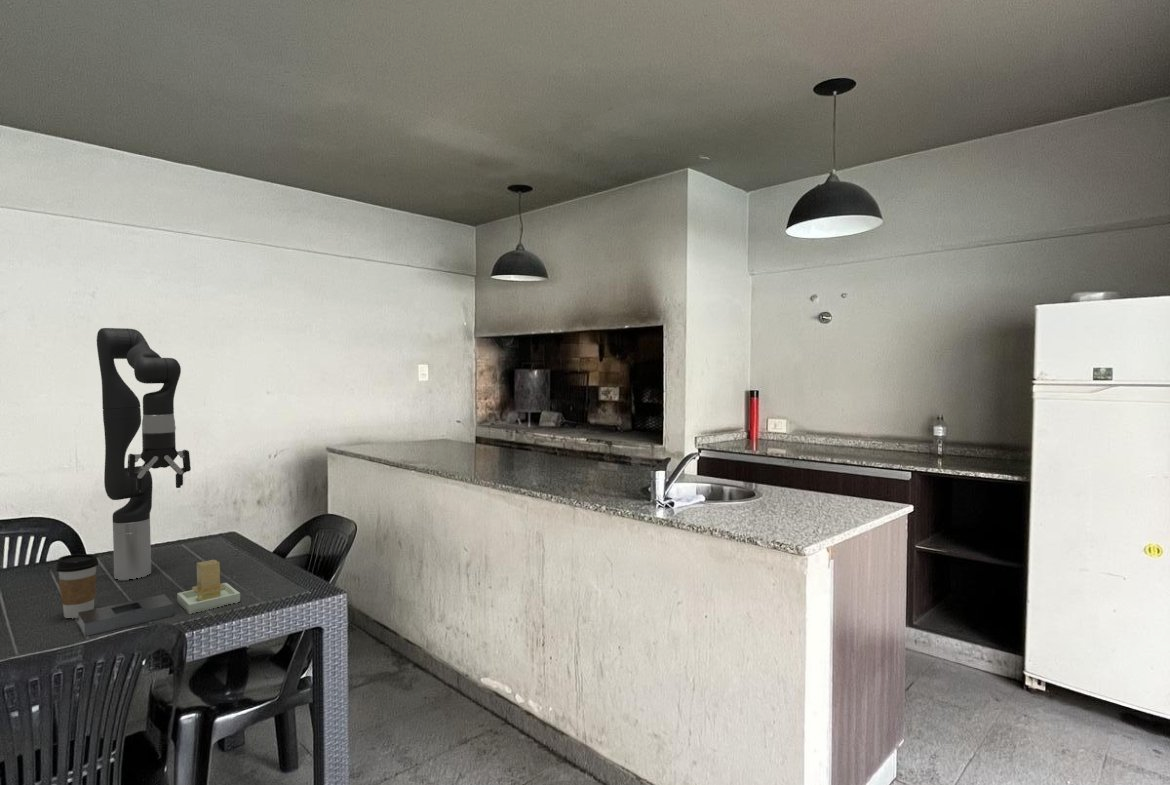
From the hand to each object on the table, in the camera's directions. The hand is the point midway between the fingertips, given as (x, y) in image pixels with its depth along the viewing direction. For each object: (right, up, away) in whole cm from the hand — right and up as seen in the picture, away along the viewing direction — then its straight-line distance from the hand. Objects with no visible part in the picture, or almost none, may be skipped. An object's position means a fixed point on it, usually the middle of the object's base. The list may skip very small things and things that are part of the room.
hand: (160, 489), depth 174 cm
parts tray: (+15, -30, -2) cm, 34 cm away
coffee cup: (-13, -31, -11) cm, 35 cm away
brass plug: (+15, -29, -2) cm, 33 cm away
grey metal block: (+1, -31, -14) cm, 34 cm away
